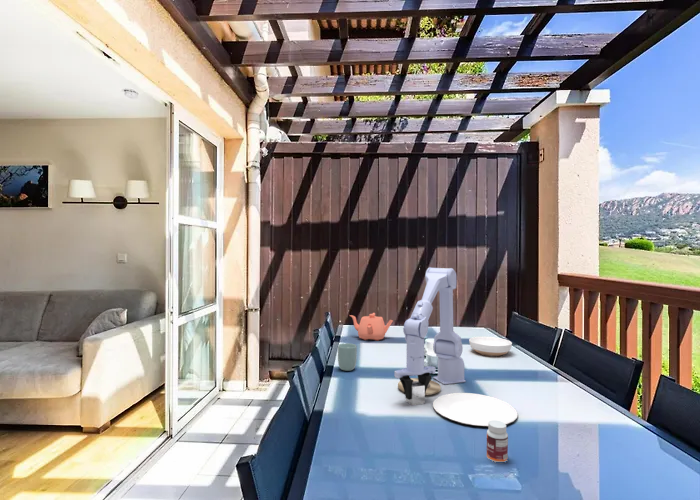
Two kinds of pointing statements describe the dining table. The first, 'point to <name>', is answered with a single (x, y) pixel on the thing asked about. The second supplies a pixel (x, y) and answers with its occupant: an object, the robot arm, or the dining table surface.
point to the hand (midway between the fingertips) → (415, 397)
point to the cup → (347, 356)
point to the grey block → (417, 394)
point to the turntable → (431, 388)
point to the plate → (474, 409)
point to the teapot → (371, 327)
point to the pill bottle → (497, 441)
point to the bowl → (490, 345)
